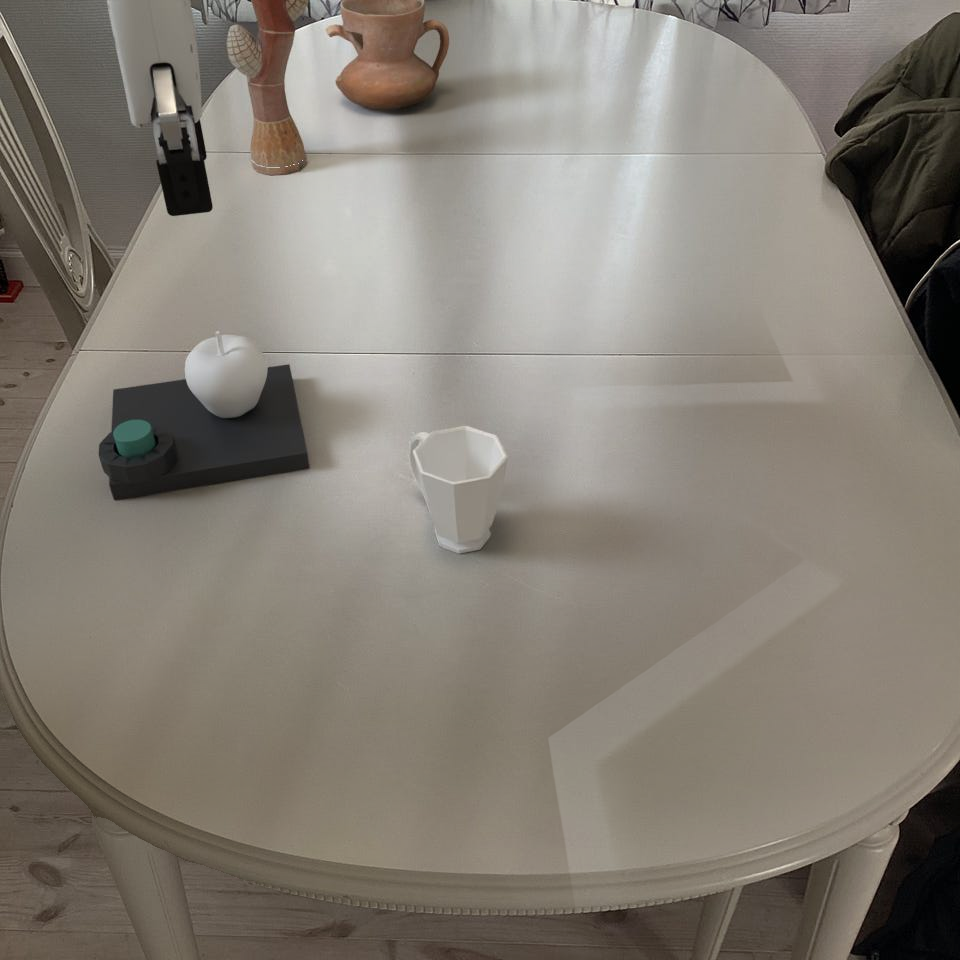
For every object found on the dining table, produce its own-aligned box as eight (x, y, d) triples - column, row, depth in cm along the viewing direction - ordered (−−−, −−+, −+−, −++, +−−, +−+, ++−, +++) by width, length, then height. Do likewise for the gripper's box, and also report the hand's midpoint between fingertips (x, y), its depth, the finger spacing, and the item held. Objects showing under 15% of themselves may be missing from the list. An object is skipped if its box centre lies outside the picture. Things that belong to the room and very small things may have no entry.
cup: (453, 579, 76) (450, 497, 70) (378, 510, 82) (370, 430, 77) (526, 538, 79) (527, 457, 74) (448, 475, 85) (445, 396, 80)
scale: (108, 504, 83) (97, 471, 80) (112, 405, 93) (103, 373, 91) (310, 471, 86) (305, 438, 83) (291, 379, 96) (286, 347, 94)
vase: (244, 176, 133) (201, -81, 114) (252, 154, 139) (213, -94, 120) (324, 174, 134) (295, -82, 114) (329, 152, 139) (302, -95, 120)
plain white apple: (188, 432, 87) (169, 352, 82) (198, 385, 93) (181, 308, 88) (270, 427, 88) (256, 348, 83) (276, 381, 93) (263, 304, 88)
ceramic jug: (335, 122, 148) (324, 18, 139) (331, 88, 159) (321, -9, 150) (457, 114, 150) (455, 11, 141) (445, 81, 161) (442, -16, 152)
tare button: (117, 461, 82) (112, 443, 81) (118, 439, 84) (113, 422, 83) (155, 455, 82) (151, 437, 81) (155, 433, 85) (151, 416, 84)
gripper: (84, -88, 72) (138, 148, 83) (70, -30, 59) (137, 241, 70) (192, -94, 73) (231, 139, 84) (202, -39, 60) (247, 228, 71)
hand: (188, 185), depth 77 cm, fingers open, 9 cm apart
